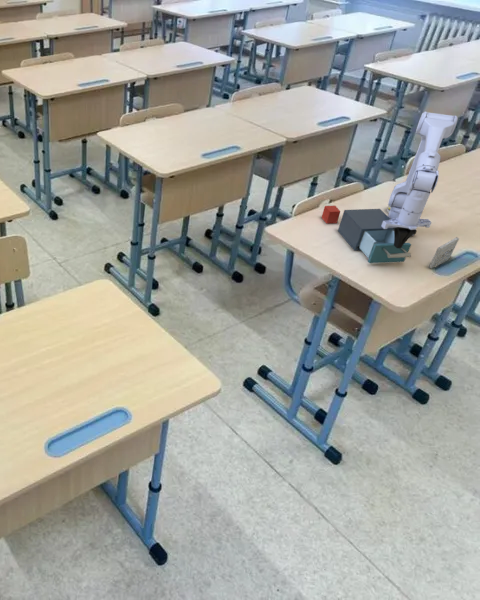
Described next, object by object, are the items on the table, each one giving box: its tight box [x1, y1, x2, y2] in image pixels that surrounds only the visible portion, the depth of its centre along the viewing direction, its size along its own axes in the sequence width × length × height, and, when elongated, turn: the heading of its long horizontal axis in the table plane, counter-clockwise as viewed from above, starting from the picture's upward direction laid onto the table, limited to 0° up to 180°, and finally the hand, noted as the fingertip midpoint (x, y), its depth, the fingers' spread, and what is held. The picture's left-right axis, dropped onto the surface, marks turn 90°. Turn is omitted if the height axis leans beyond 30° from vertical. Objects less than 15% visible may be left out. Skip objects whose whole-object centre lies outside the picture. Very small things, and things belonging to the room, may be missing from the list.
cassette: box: [428, 236, 460, 269], centre depth 182 cm, size 12×2×8 cm, turn 124°
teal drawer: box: [358, 230, 412, 264], centre depth 184 cm, size 17×12×7 cm
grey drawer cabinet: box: [337, 208, 394, 252], centre depth 193 cm, size 14×13×9 cm
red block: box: [321, 205, 341, 225], centre depth 206 cm, size 4×5×5 cm
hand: (397, 246), depth 177 cm, fingers closed
